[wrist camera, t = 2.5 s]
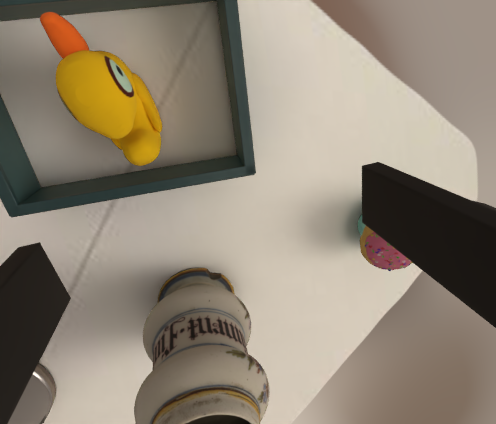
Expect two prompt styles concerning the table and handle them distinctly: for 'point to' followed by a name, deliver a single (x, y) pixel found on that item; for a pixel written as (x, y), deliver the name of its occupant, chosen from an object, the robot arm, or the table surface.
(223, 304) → the apothecary jar
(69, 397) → the table surface
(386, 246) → the cupcake
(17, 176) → the rectangular frame
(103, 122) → the duckling
